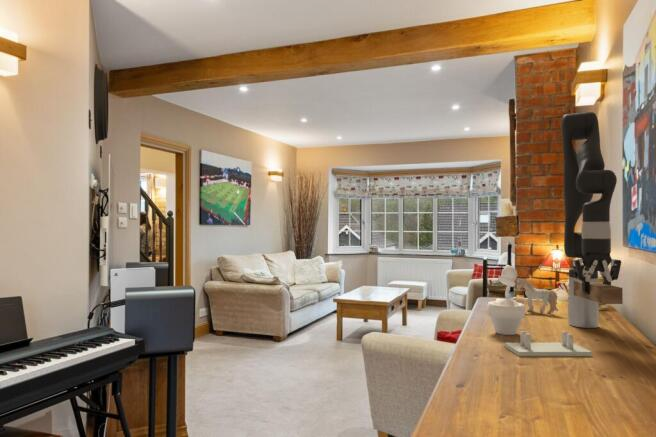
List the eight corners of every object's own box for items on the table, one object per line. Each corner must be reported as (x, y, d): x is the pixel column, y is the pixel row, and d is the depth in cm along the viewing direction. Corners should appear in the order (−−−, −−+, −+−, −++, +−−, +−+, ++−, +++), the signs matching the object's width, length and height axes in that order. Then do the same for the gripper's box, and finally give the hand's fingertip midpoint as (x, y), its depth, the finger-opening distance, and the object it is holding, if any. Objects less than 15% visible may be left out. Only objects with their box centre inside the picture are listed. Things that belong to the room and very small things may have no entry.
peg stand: (504, 346, 137) (504, 328, 137) (571, 346, 137) (571, 329, 137) (519, 356, 127) (519, 337, 127) (591, 356, 127) (591, 337, 127)
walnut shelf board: (573, 295, 146) (573, 280, 146) (590, 295, 146) (590, 280, 147) (604, 303, 130) (603, 287, 130) (622, 303, 130) (622, 287, 131)
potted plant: (496, 327, 163) (496, 256, 163) (530, 333, 154) (530, 257, 155) (479, 333, 154) (479, 257, 154) (514, 339, 145) (514, 259, 146)
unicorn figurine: (513, 308, 202) (513, 277, 202) (562, 313, 190) (562, 280, 190) (507, 310, 196) (507, 278, 197) (558, 316, 184) (557, 282, 185)
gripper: (612, 236, 143) (612, 292, 142) (565, 236, 143) (565, 292, 142) (628, 237, 135) (628, 296, 135) (578, 237, 135) (579, 296, 135)
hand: (596, 294), depth 139 cm, fingers closed on walnut shelf board, 5 cm apart
